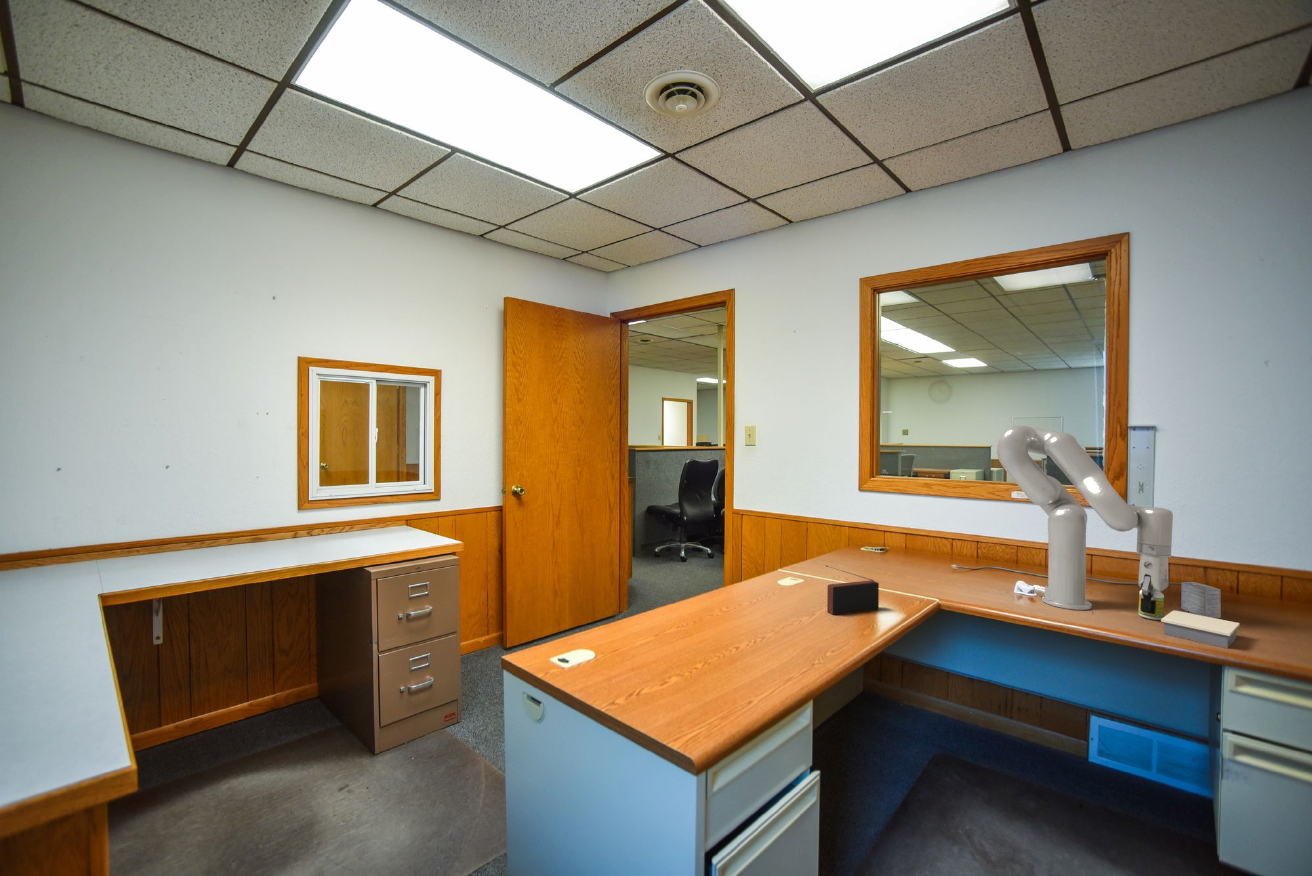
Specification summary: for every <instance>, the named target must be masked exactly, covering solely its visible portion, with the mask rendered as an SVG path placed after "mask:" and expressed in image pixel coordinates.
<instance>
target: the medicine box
mask: <svg viewBox="0 0 1312 876" xmlns="http://www.w3.org/2000/svg"><path fill="white" fill-rule="evenodd" d="M1221 595H1222V594H1221V589H1220V588H1217V587H1214V586H1211V585H1207V584H1203V583H1200V582H1195V581H1184V582H1181V596H1180V597H1181V599H1180V600H1181V602H1180V605H1181V606H1180V607H1181V610H1182V609H1183V610H1182V611H1184V612H1188V611H1189V612H1188V613H1191V614H1196V615H1201V616H1206V617H1211V618H1216V619H1220V618H1221V619H1222V616H1221V615H1222V614H1221V613H1222V612H1221V610H1222V609H1221V602H1222V601H1221V599H1222V597H1221Z"/></svg>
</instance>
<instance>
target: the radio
mask: <svg viewBox="0 0 1312 876" xmlns="http://www.w3.org/2000/svg"><path fill="white" fill-rule="evenodd" d="M825 567H826V568H831V569H833V570H837V571H839V572H843V573H847V574H850V575H853V576H857V577H860V578H862V579H866V580H860V581H850V582H840V583H839V582H838V583H832V584H831V583H830V584H827V597H826V598H827V600H826V601H827V604H826V607H827V608H826V609H827V613H828V614H831V615H832V616H837V615H846V614H853V613H855V614H856V613H863V612H871V611H878V610H879V608H880V607H879V606H880V605H879V604H880V603H879V602H880V601H879V599H880V598H879V596H880V595H879V592H880V583H879V582H877V581H875V580H874V579H872V578H868V577H865V576H861V575H859V574H855V573H851V572H849V571H845V570H842V569H838V568H836V567H832V566H830V565H829V566H828V565H825Z"/></svg>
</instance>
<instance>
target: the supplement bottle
mask: <svg viewBox="0 0 1312 876" xmlns="http://www.w3.org/2000/svg"><path fill="white" fill-rule="evenodd" d="M1149 589H1153V587H1149ZM1149 592H1151V593H1152V591H1149ZM1141 594H1142V589H1141V590H1139V594H1138V609H1137V610H1138V613H1137V614H1138V616H1140V617H1142V618H1145V619H1150V620H1155V621H1157V620H1158V621H1159V620H1160V621H1161V619H1162V618H1164V603H1165V595H1164V593H1163V592H1162V593H1161V592H1160V591H1157V590H1156V592H1155V599H1154V600H1156V610H1155V614H1150V613H1146V612H1142V611H1141V610H1140V608H1141ZM1151 595H1152V594H1151Z"/></svg>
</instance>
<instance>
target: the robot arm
mask: <svg viewBox="0 0 1312 876" xmlns="http://www.w3.org/2000/svg"><path fill="white" fill-rule="evenodd" d="M1029 453H1033V454H1036V455H1037V454H1038V455H1043V456H1049V457H1050V459H1051V460H1052V461H1053V462H1054V463H1055V465H1056V466H1057V467H1058V468H1059V469H1060V470H1061V472H1062V473H1063V474H1064V475H1065V476H1066V478H1067V479H1068V480H1069V481H1070V483H1071V484H1072V485H1073V486H1074V488H1075V489H1076V490H1077V491H1078V492H1079V494H1080V495H1082V496H1083V498H1084V499H1085V500H1086V501H1087V503H1088V504H1089V506H1090V507H1091V508H1092V509H1093V510H1094V512H1095V513H1096V514H1097V515H1098V516H1099V518H1101V520H1102V521H1103V522H1104V523H1105V524H1106V526H1107V527H1108V528H1110V529H1111V530H1114V531H1117V532H1129V531H1131V530H1133V529H1137V534H1136V537H1137V538H1136V554H1139V555H1140V557H1139V558H1140V559H1139V565H1138V566H1139V568H1138V587H1140V588H1141V590H1142V594H1141V608H1140V610H1141V611H1142V612H1146V613H1150V614H1155V610H1156V600H1154V599H1155V592H1156V590H1157V591H1160V592H1161V593H1162V594H1163V592H1162V591H1164V590H1166V589H1167V588H1168V587H1169V559H1170V558H1172V544H1173V539H1172V538H1173V522H1174V521H1173V520H1174V515H1173V512H1172V510H1170V509H1169V508H1163V507H1156V506H1155V507H1154V506H1138V505H1133V504H1128V503H1127V502H1126V501H1125V500H1124V499H1123V498H1122V496H1121V495H1120V494H1119V493H1118V492H1117V491H1116V490H1115V489H1114V487H1113V485H1112V484H1111V483H1110V481H1109V480H1108V478H1107V476H1106V474H1105V473H1104V471H1103V470H1102V468H1101V467H1100V466H1099V465H1098V464H1097V463H1096V462H1095V460H1093V458H1092V457H1091V456H1090V455H1089V454H1088V452H1086V450H1085V449H1084V448H1083V447H1082V446H1081V445H1080V443H1079V442H1078V441H1077V439H1076V437H1075V436H1074V435H1072V434H1071V433H1069V432H1068V433H1067V432H1063V431H1055V430H1049V429H1044V428H1043V429H1042V428H1037V427H1032V426H1028V425H1027V426H1026V425H1013V426H1010V427H1008V428H1006V429H1005V430H1004V431H1003V433H1002V434H1001V435H1000V437H999V439H998V441H997V445H996V454H997V458H998V459H997V460H998V461H999V462H1000V465H1001V466H1002V468H1003V469H1004V470H1005V471H1006V472H1007V474H1008V475H1009V476H1010V477H1011V479H1012V480H1013V482H1015V484H1016V485H1017V486H1018V487H1019V488H1020V490H1021V491H1022V492H1023V493H1024V495H1025V496H1026V497H1027V499H1028V500H1029V501H1030V502H1031V503H1033V504H1034V505H1037V506H1039V507H1040V508H1041V509H1042V510H1043V511H1044V513H1045V514H1046V515H1047V517H1048V518H1047V534H1048V537H1047V538H1048V547H1047V548H1048V549H1047V551H1048V567H1047V568H1048V569H1047V571H1048V573H1047V574H1048V575H1047V576H1048V577H1047V583H1048V584H1047V585H1045V586H1042V585H1040V584H1039V585H1038V584H1034V585H1033V591H1035V592H1036V593H1040V594H1041V593H1042V594H1043V595H1042V597H1041V600H1042V602H1044V603H1046V604H1047V605H1050V606H1053V607H1058V608H1062V609H1065V610H1066V609H1067V610H1073V611H1074V610H1075V611H1076V610H1077V611H1087V610H1090V609H1092V608H1093V605H1092V603H1091V602H1090V601H1088V600H1086V582H1087V581H1086V577H1087V575H1086V574H1087V569H1086V567H1087V566H1086V565H1087V524H1088V514H1087V511H1086V510H1085V508H1084V507H1083V506H1082V505H1081V504H1080V502H1078V500H1077V499H1076V498H1075V497H1074V496H1073V495H1072V494H1071V493H1070V491H1068V490H1067V488H1066V487H1065V486H1064V485H1063V484H1062V483H1061V482H1060V481H1059V480H1058V479H1057V478H1055V477H1054V476H1051V475H1048V474H1047V473H1046V472H1045V471H1044V470H1043V469H1042V468H1041V467H1040V465H1039V464H1038V463H1037V462H1036V461H1035V460H1034V459H1033V457H1031V455H1030V454H1029ZM1149 587H1153V589H1149ZM1149 591H1152V593H1151V592H1149ZM1151 594H1152V595H1151Z"/></svg>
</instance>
